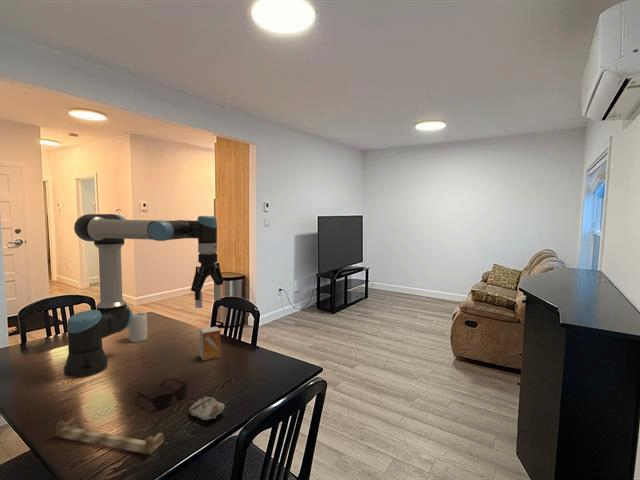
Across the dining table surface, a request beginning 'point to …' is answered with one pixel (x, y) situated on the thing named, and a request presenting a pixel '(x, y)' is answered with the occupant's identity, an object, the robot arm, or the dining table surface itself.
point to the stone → (206, 408)
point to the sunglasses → (167, 395)
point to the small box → (209, 343)
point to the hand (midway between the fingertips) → (208, 303)
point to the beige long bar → (108, 438)
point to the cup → (138, 327)
